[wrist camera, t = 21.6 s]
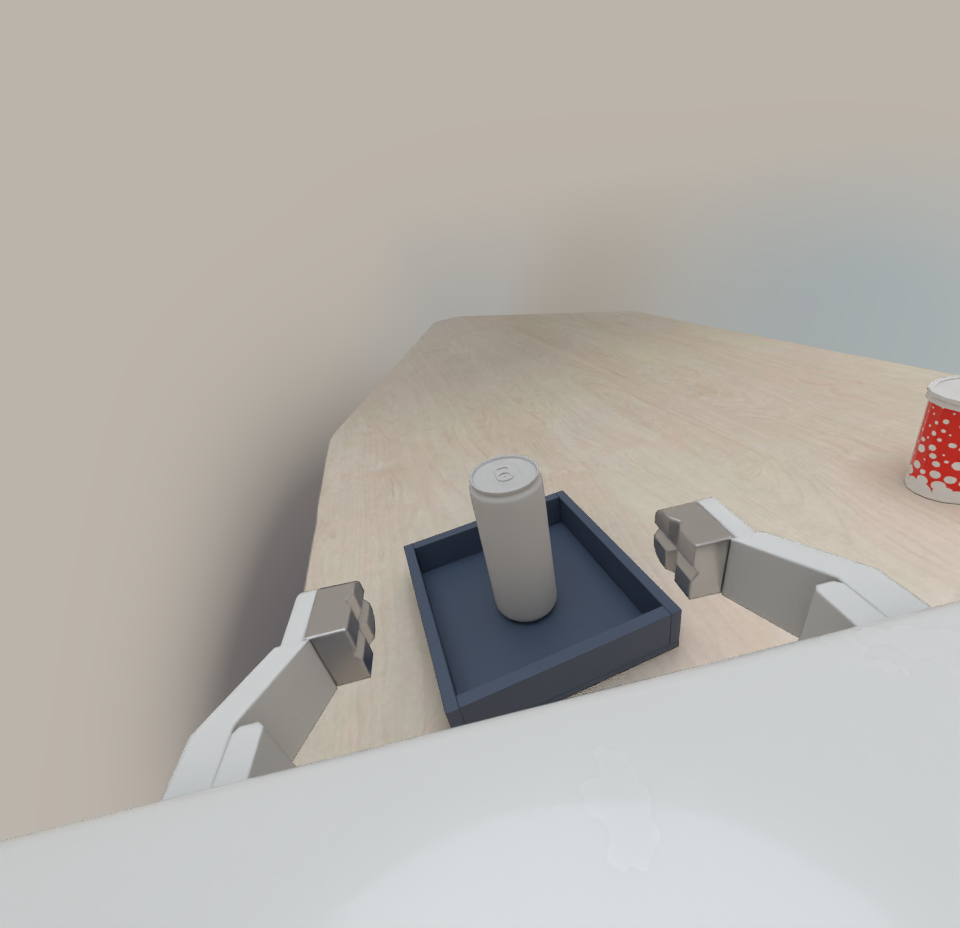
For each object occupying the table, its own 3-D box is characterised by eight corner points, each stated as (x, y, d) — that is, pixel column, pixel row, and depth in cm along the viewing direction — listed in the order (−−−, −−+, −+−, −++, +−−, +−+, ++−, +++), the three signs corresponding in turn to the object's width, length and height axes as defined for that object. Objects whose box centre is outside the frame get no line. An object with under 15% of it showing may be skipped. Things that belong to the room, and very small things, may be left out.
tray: (458, 747, 24) (445, 714, 23) (414, 575, 38) (403, 546, 36) (679, 646, 27) (682, 609, 26) (565, 519, 41) (562, 489, 39)
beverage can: (502, 633, 30) (471, 501, 24) (491, 585, 34) (462, 463, 28) (566, 617, 30) (551, 482, 24) (547, 571, 34) (530, 447, 28)
